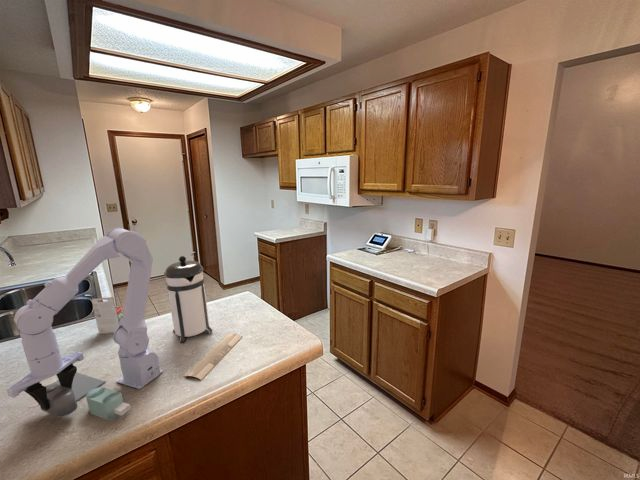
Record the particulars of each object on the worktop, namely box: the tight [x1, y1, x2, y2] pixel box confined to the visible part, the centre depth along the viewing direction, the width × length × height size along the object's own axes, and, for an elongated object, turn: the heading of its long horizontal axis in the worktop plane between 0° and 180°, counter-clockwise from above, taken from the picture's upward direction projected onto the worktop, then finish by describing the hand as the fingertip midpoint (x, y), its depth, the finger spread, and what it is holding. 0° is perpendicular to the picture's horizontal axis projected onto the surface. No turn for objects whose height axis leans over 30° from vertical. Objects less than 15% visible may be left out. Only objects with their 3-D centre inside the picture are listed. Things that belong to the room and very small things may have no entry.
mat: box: [51, 371, 106, 402], centre depth 84 cm, size 14×10×1 cm
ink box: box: [91, 296, 124, 335], centre depth 113 cm, size 4×8×15 cm, turn 96°
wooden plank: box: [183, 332, 243, 381], centre depth 97 cm, size 24×7×2 cm, turn 165°
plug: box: [39, 383, 78, 418], centre depth 74 cm, size 12×4×4 cm, turn 70°
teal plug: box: [85, 386, 131, 421], centre depth 75 cm, size 12×4×4 cm, turn 70°
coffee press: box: [163, 255, 213, 344], centre depth 109 cm, size 17×16×30 cm
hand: (56, 401), depth 74 cm, fingers closed on plug, 4 cm apart
